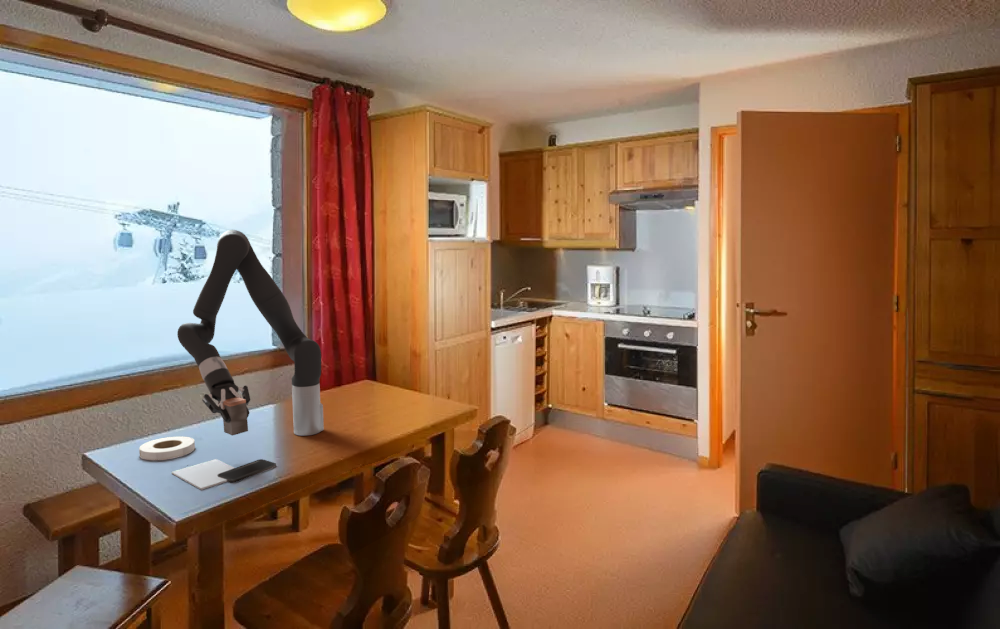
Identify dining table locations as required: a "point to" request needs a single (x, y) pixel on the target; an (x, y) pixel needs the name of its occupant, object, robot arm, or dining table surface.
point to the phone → (247, 470)
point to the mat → (204, 474)
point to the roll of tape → (166, 448)
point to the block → (236, 416)
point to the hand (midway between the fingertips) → (238, 418)
